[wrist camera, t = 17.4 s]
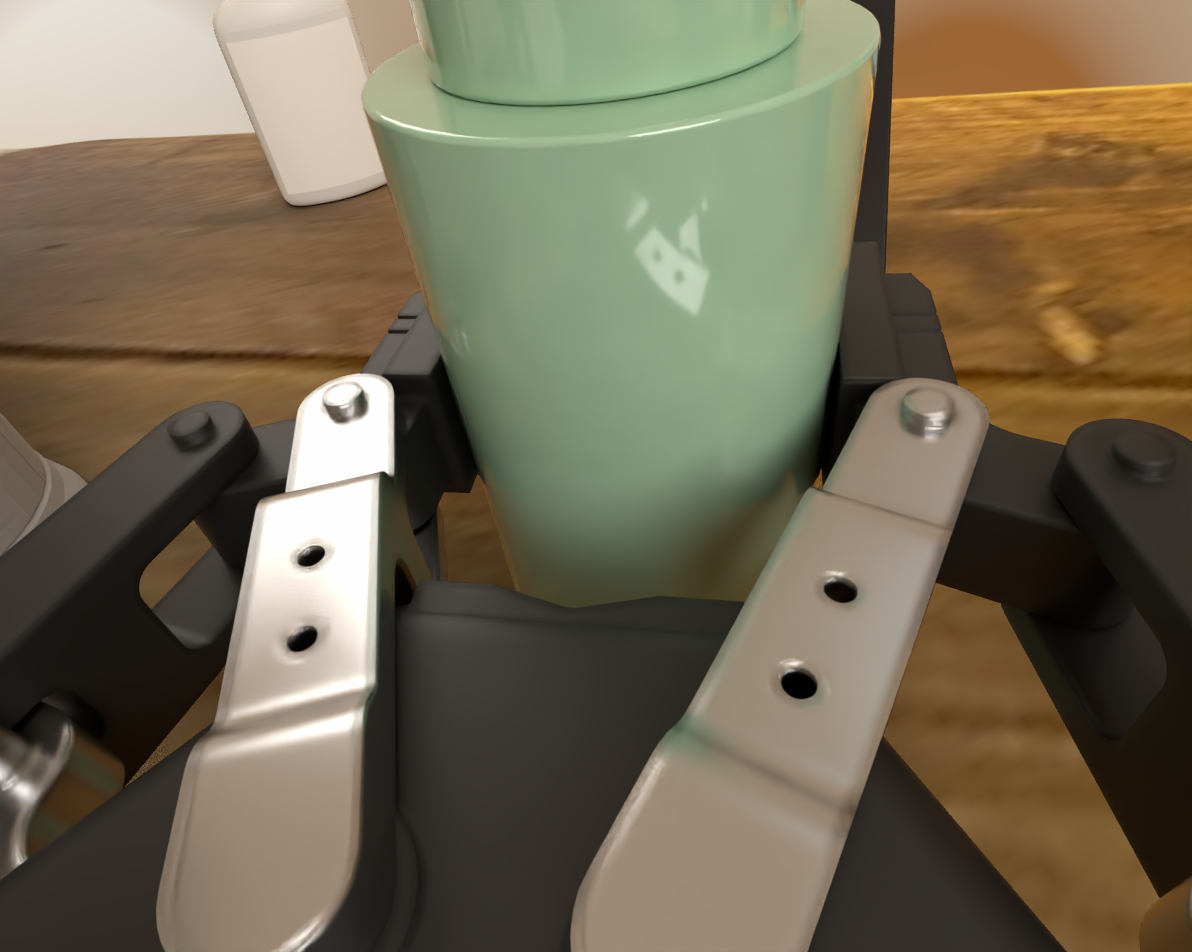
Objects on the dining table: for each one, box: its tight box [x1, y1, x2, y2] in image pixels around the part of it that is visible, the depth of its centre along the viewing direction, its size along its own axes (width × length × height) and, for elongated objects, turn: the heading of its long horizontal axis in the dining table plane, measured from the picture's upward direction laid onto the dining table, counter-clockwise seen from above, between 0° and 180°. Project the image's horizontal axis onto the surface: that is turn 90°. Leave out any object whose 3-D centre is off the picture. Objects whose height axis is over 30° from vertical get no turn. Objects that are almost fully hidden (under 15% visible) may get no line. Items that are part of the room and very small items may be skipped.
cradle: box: [851, 0, 895, 274], centre depth 20 cm, size 16×10×14 cm, turn 170°
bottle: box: [361, 0, 881, 608], centre depth 10 cm, size 14×5×14 cm
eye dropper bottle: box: [213, 0, 387, 206], centre depth 31 cm, size 4×6×12 cm
